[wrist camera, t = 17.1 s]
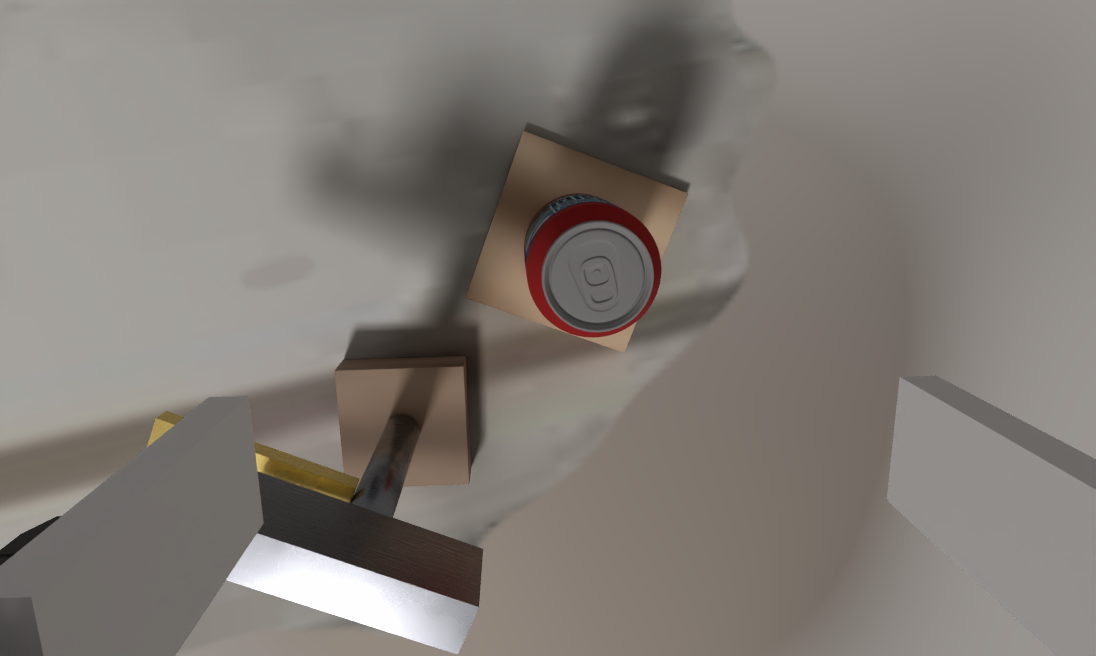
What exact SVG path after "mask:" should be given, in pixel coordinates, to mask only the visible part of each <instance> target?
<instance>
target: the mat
mask: <svg viewBox="0 0 1096 656" xmlns="http://www.w3.org/2000/svg"><path fill="white" fill-rule="evenodd" d="M574 193H583V194H589V195H593V196H597V197H599V198H602V199H604V200H606V201H608V202H611V203H613V204H614V205H616V206H618V207H620V208H622V209H624V210H625V211H627V212H629V213H630V214H632V215H633V216H635V217H636V218H637V219H638V220H640V221H641V222H642V223H643V224H644V225H645V227H646V228H647V229H648V230H649V232H650V233H651V235H652V236H653V238H654V240H655V242H656V244H657V247H658V250H659V254H660V259H661V260H662V258H663V255H664V253H665V250H666V248H667V245H668V243H669V240H670V238H671V235H672V233H673V230H674V228H675V225H676V223H677V220H678V218H679V215H680V213H681V210H682V208H683V206H684V203H685V201H686V198H687V196H688V193H686V192H683V191H680V190H678V189H675V188H672V187H670V186H667V185H665V184H662V183H659V182H657V181H654V180H651V179H649V178H646V177H644V176H641V175H638V174H636V173H633V172H630V171H628V170H625V169H623V168H620V167H617V166H615V165H612V164H609V163H607V162H604V161H602V160H599V159H596V158H594V157H591V156H588V155H586V154H583V153H581V152H578V151H575V150H573V149H570V148H567V147H565V146H562V145H560V144H557V143H554V142H552V141H549V140H546V139H544V138H541V137H539V136H536V135H533V134H531V133H528V132H525V131H523V133H522V136H521V139H520V142H519V145H518V148H517V151H516V153H515V156H514V159H513V162H512V165H511V168H510V171H509V174H508V177H507V179H506V182H505V185H504V188H503V191H502V194H501V197H500V200H499V202H498V205H497V208H496V211H495V214H494V217H493V220H492V223H491V226H490V228H489V231H488V234H487V237H486V240H485V243H484V246H483V249H482V251H481V254H480V257H479V260H478V263H477V266H476V269H475V272H474V274H473V277H472V280H471V283H470V286H469V289H468V292H467V295H466V298H468V299H471V300H473V301H476V302H479V303H482V304H485V305H488V306H491V307H494V308H497V309H499V310H502V311H505V312H508V313H511V314H514V315H517V316H520V317H523V318H525V319H528V320H531V321H534V322H537V323H540V324H543V325H546V326H549V327H551V328H554V329H557V330H560V331H563V330H561V329H559V328H557V327H556V326H554V325H553V324H552V323H550V322H549V321H548V320H547V319H546V318H545V317H544V316H543V315H542V313H541V312H540V311H539V310H538V308H537V306H536V305H535V303H534V301H533V299H532V296H531V294H530V291H529V287H528V282H527V276H526V269H525V259H524V242H525V236H526V232H527V229H528V226H529V224H530V222H531V220H532V219H533V217H534V216H535V215H536V213H537V212H538V211H539V210H540V209H541V208H542V207H543V206H544V205H546V204H547V203H548V202H550V201H552V200H553V199H555V198H558V197H560V196H563V195H567V194H574ZM635 325H636V322H635V323H634V324H633V325H631V326H630V327H628V328H626V329H625V330H623V331H621V332H618V333H616V334H612V335H609V336H604V337H594V338H592V337H581V336H577V337H580V338H583V339H586V340H589V341H592V342H595V343H598V344H601V345H603V346H606V347H609V348H612V349H615V350H618V351H621V352H625V350H626V347H627V345H628V342H629V340H630V337H631V335H632V332H633V330H634V327H635ZM563 332H565V331H563ZM566 333H567V332H566ZM569 334H570V333H569ZM572 335H573V334H572ZM575 336H576V335H575Z"/></svg>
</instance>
